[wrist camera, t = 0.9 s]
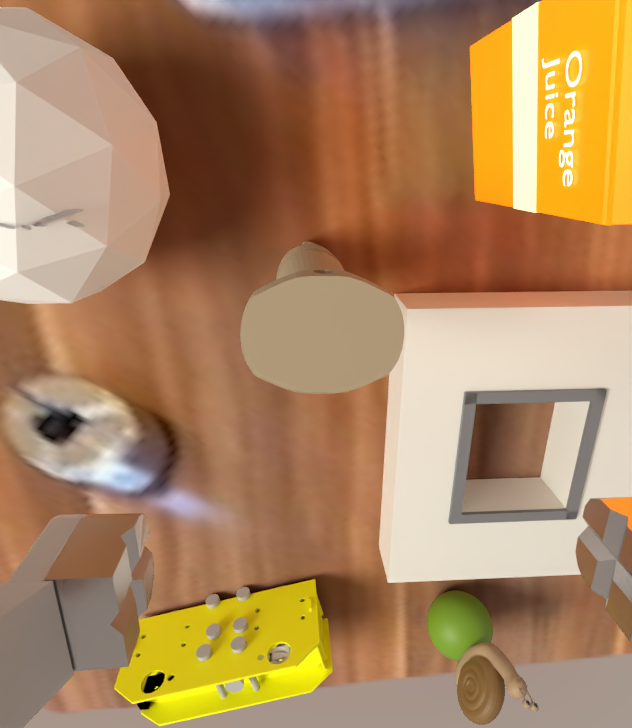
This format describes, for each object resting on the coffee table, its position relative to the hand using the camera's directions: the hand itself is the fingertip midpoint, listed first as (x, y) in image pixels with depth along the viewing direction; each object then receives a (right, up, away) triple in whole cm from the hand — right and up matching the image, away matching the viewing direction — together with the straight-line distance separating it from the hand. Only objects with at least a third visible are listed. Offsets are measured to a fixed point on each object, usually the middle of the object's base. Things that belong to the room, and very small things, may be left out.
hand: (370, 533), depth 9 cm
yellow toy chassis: (-8, -19, +36) cm, 41 cm away
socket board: (+13, -2, +30) cm, 33 cm away
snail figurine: (+11, -18, +36) cm, 42 cm away
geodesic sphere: (-16, +15, +21) cm, 30 cm away
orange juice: (+12, +18, +22) cm, 31 cm away
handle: (-2, +10, +24) cm, 26 cm away
